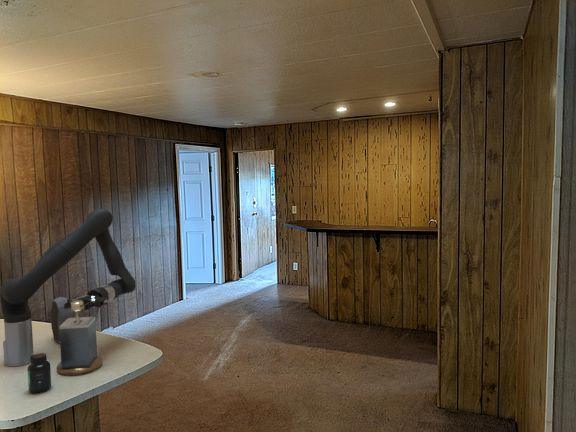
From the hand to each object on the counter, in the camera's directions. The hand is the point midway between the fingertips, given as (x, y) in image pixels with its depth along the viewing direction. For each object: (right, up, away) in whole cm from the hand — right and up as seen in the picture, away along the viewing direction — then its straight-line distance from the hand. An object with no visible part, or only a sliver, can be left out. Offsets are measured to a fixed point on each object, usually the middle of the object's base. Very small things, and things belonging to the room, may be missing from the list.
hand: (75, 306), depth 166 cm
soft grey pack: (-20, -22, +32) cm, 43 cm away
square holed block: (0, -24, +3) cm, 24 cm away
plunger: (0, -21, +3) cm, 21 cm away
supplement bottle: (-5, -26, -15) cm, 30 cm away
